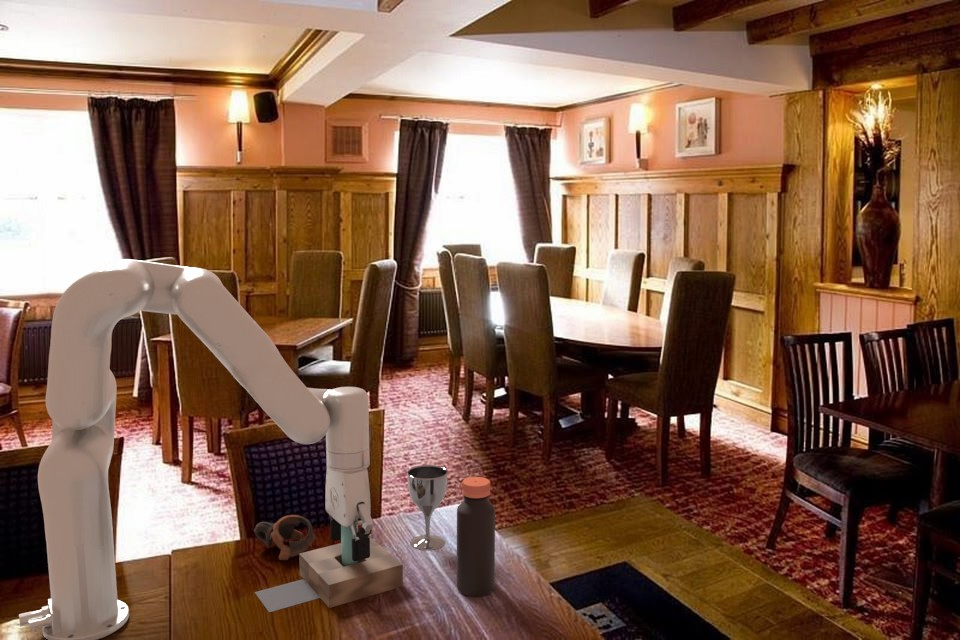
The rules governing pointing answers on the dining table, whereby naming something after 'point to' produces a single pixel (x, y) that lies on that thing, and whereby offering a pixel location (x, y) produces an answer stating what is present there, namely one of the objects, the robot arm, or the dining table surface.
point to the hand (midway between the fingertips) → (349, 548)
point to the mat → (286, 595)
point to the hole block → (349, 574)
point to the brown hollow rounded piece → (285, 535)
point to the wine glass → (427, 500)
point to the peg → (347, 545)
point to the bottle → (475, 539)
